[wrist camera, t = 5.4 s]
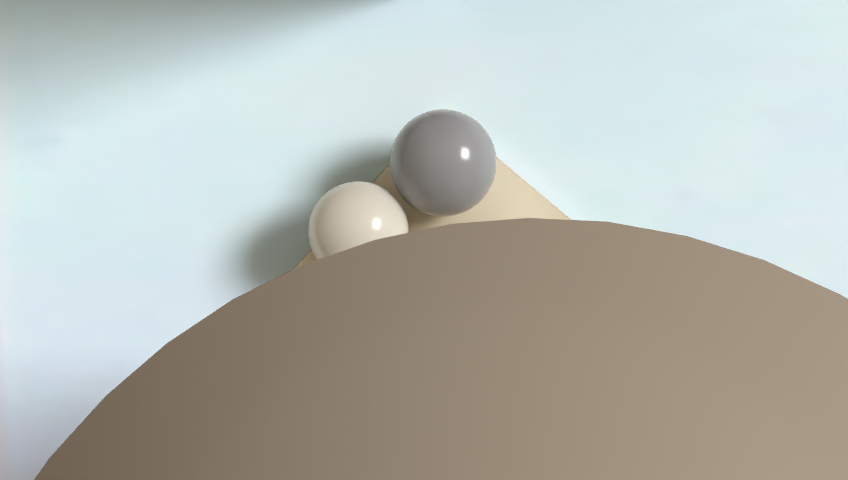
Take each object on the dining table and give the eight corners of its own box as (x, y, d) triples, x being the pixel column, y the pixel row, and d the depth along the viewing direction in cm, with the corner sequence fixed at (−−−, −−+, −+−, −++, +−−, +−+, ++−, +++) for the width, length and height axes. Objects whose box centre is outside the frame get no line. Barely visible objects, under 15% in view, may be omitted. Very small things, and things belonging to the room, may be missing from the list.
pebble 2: (448, 246, 22) (446, 227, 19) (374, 181, 22) (361, 153, 19) (514, 172, 22) (523, 142, 19) (439, 109, 23) (437, 71, 20)
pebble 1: (367, 305, 22) (354, 297, 19) (298, 243, 22) (277, 226, 19) (430, 235, 22) (427, 217, 19) (362, 175, 22) (348, 149, 20)
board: (473, 650, 21) (473, 656, 20) (195, 380, 22) (190, 381, 22) (723, 351, 22) (727, 351, 21) (440, 113, 23) (439, 109, 23)
